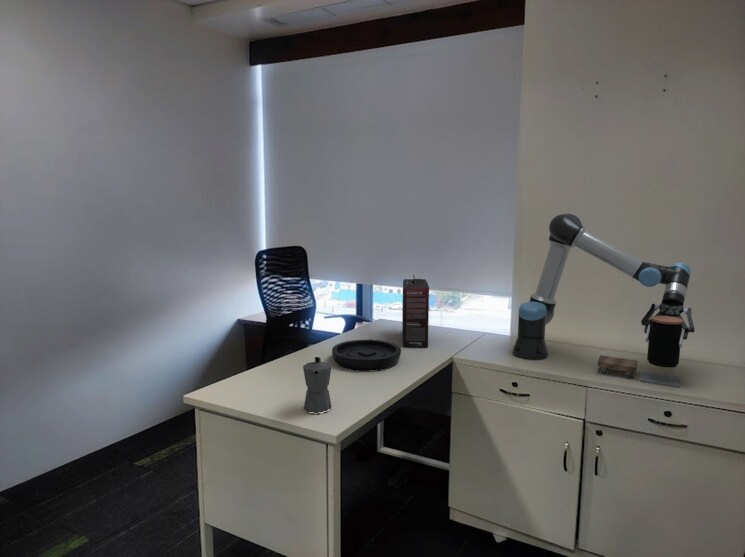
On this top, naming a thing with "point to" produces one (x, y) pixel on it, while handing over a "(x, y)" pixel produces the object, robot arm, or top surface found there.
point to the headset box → (415, 312)
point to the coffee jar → (664, 341)
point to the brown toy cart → (617, 365)
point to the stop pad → (659, 379)
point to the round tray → (366, 354)
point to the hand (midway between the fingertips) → (663, 342)
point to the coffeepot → (317, 386)
